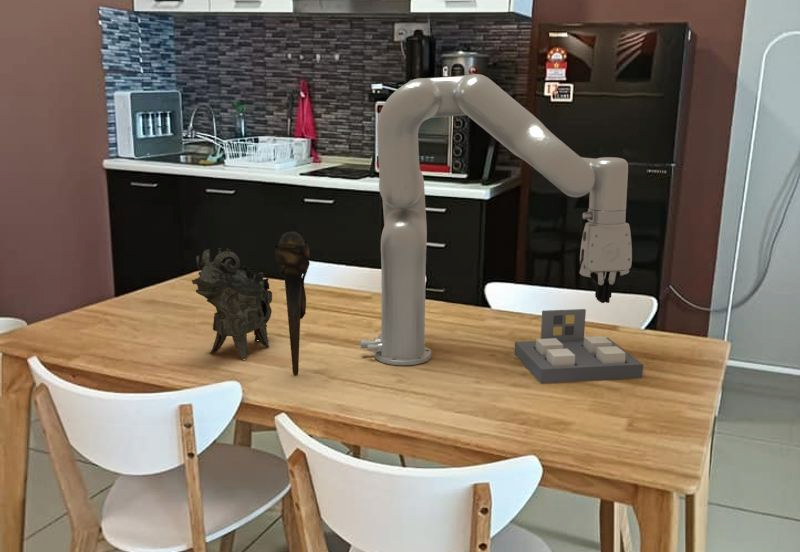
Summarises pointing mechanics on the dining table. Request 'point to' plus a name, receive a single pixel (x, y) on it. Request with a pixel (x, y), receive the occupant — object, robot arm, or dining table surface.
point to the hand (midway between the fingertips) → (602, 301)
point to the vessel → (234, 299)
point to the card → (563, 324)
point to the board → (576, 364)
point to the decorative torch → (294, 285)
